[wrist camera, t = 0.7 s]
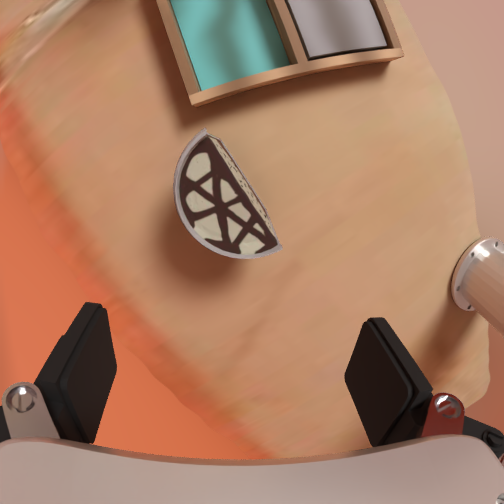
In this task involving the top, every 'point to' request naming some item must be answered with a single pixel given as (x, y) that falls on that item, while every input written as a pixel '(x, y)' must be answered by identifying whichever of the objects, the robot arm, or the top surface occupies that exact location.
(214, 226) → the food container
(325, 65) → the compartment tray
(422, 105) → the top surface
